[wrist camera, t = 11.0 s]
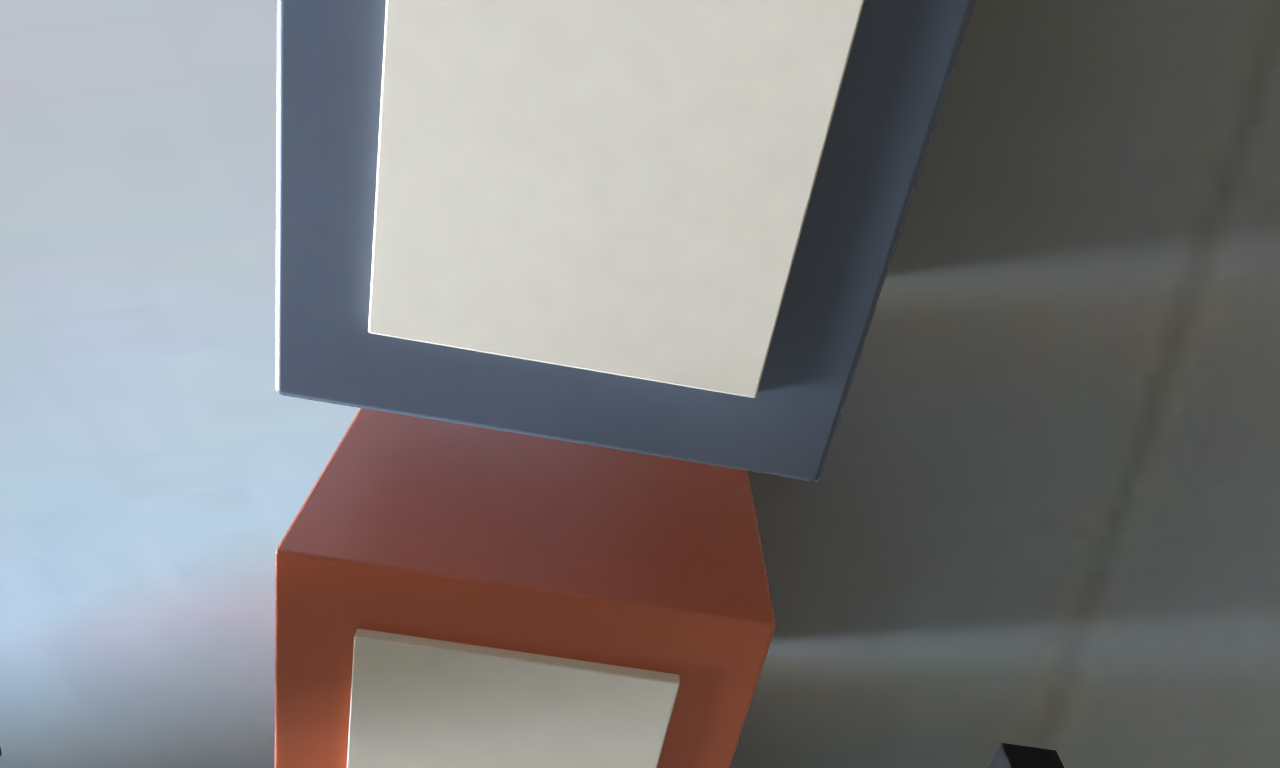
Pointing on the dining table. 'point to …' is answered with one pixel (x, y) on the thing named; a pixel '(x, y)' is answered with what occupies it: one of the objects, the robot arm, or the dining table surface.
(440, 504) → the terracotta block
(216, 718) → the dining table surface
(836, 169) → the slate block
